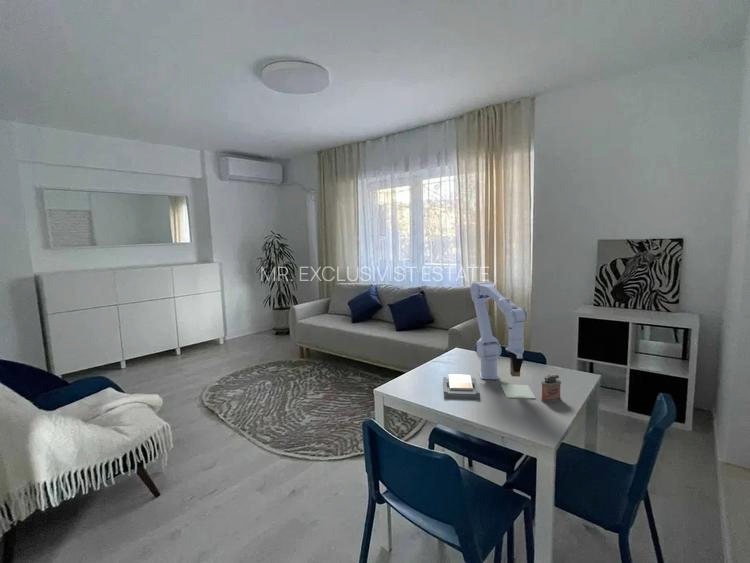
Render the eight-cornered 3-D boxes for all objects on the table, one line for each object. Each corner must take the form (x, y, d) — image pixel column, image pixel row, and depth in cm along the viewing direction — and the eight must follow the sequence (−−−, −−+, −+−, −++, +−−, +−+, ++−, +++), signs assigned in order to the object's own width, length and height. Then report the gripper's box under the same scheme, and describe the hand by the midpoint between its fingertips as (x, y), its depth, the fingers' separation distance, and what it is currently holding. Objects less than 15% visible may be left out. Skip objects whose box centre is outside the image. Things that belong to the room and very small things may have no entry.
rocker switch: (448, 375, 161) (448, 374, 160) (470, 376, 159) (470, 374, 159) (449, 389, 152) (449, 387, 151) (472, 390, 150) (472, 388, 150)
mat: (500, 385, 159) (500, 384, 159) (527, 386, 157) (527, 385, 157) (506, 398, 146) (506, 396, 146) (535, 399, 145) (535, 397, 144)
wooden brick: (510, 373, 153) (510, 357, 152) (518, 373, 152) (518, 357, 152) (511, 376, 150) (511, 359, 149) (520, 376, 149) (520, 359, 148)
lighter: (545, 403, 140) (545, 378, 139) (539, 399, 144) (539, 375, 143) (562, 400, 143) (563, 375, 141) (556, 396, 146) (556, 372, 145)
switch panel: (443, 382, 165) (443, 374, 164) (475, 383, 162) (475, 375, 162) (444, 397, 149) (444, 388, 148) (479, 398, 147) (479, 389, 146)
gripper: (502, 333, 157) (502, 364, 158) (509, 342, 143) (509, 376, 144) (519, 333, 156) (519, 364, 157) (528, 342, 142) (528, 376, 143)
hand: (515, 370), depth 151 cm, fingers closed on wooden brick, 3 cm apart
